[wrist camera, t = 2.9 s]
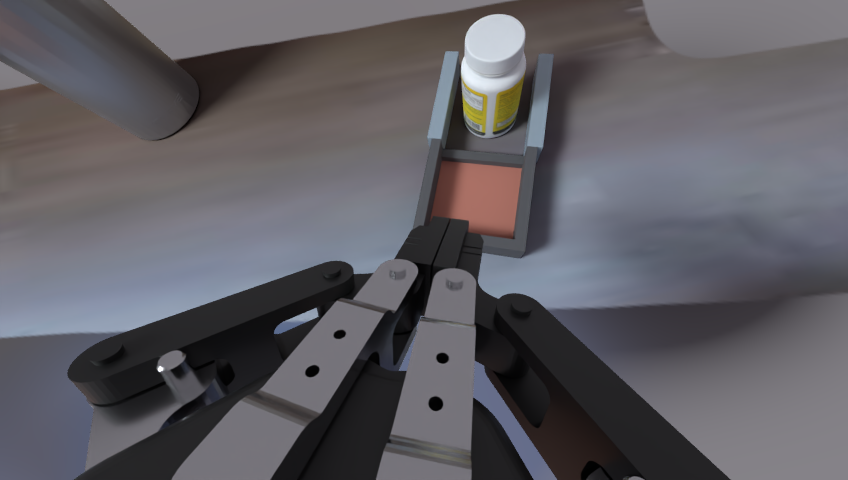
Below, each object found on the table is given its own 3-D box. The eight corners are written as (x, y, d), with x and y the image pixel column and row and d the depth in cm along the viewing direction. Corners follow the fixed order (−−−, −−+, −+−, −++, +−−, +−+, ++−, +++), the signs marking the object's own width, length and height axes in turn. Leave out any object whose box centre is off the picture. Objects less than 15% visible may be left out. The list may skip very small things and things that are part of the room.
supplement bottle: (517, 95, 28) (534, 7, 20) (514, 140, 27) (531, 65, 19) (465, 96, 29) (462, 11, 21) (461, 139, 28) (456, 66, 20)
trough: (536, 163, 26) (543, 147, 24) (431, 153, 28) (427, 137, 26) (547, 76, 28) (553, 54, 26) (447, 72, 30) (445, 51, 28)
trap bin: (520, 258, 25) (525, 251, 22) (417, 242, 26) (411, 234, 24) (531, 162, 27) (537, 146, 24) (435, 153, 28) (431, 138, 26)
